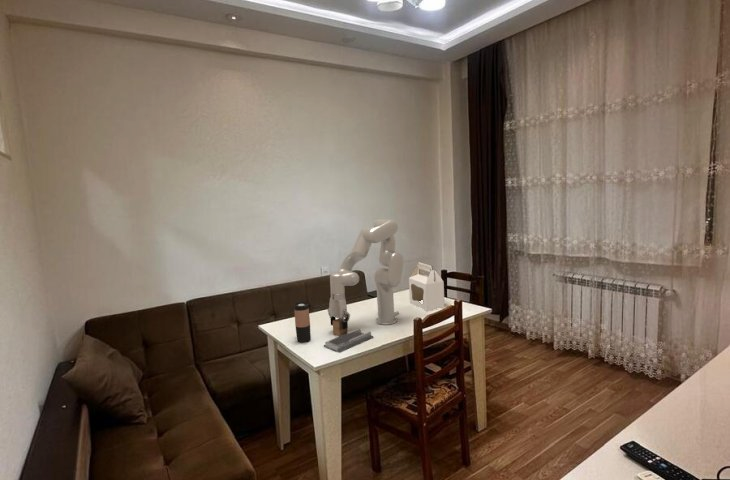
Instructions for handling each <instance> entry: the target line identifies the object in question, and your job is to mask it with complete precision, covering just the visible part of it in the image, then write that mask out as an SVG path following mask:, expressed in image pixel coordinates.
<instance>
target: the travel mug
mask: <svg viewBox="0 0 730 480" xmlns="http://www.w3.org/2000/svg"><path fill="white" fill-rule="evenodd" d="M293 309H294V310H293V311H294V323H295V325H294V326H295V332H296V333H295V334H296V342H297V343H299V344H306V343H309V342H311V340H312V339H311V337H312V335H311V318H310V306H309V302H307V301H301V302H300V301H299V302H296V303H294V304H293Z"/></svg>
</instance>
